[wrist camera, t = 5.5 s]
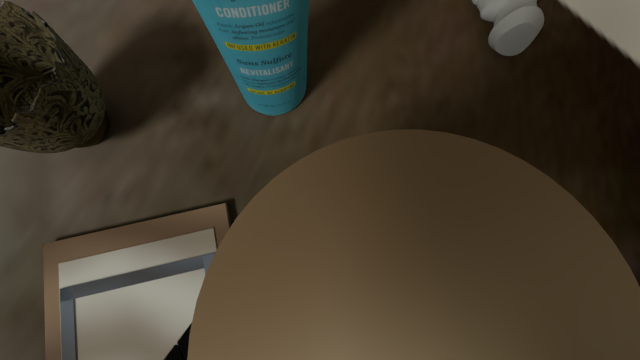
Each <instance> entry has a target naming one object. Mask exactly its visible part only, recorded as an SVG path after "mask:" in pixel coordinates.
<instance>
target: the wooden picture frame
mask: <svg viewBox="0 0 640 360" xmlns="http://www.w3.org/2000/svg"><path fill="white" fill-rule="evenodd" d="M230 227H231V221H230V215H229V209H228V204H226V203H223V204H219V205H214V206H210V207H205V208H201V209H196V210H192V211H188V212H183V213H179V214H174V215H170V216H165V217H161V218H157V219H152V220H148V221H143V222H139V223H134V224H130V225H126V226H121V227H117V228H112V229H108V230H103V231H99V232H95V233H90V234H86V235H81V236H77V237H72V238H68V239H64V240H59V241H55V242H50V243H46V244H43V255H44V303H45V350H46V360H164V358H165V357H166V356H167V354H168V353H169V352H170V350H171V349H172V348H173V346H174V345H176V344H177V341H178V340H179V339H180V337H181V336H182V335H183V333H184V332H185V331H186V329H187V328H188V327H189V325H190V324H191V323H192V320H193V315H194V311H195V306H196V301H197V298H198V295H199V292H200V289H201V287H202V284H203V281H204V278H205V275H206V272H207V270H208V267H209V265H210V263H211V261H212V259H213V257H214V255H215V253H216V251H217V249H218V247H219V244H220V243H221V241H222V240H223V238H224V236H225V235H226V233H227V232H228V230H229V229H230ZM177 345H178V344H177Z"/></svg>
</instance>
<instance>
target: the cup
mask: <svg viewBox="0 0 640 360" xmlns="http://www.w3.org/2000/svg"><path fill="white" fill-rule="evenodd" d="M109 126H110V119H109V116H108V113H107V111H106V103H105V96H104V93H103V90H102V88H101V86H100V84H99V82H98V80H97V79H96V77H95V76H94V75H93V73H92V72H91V71H90V69H89V68H88V67H87V66H86V65H85V64H84V62H83V61H82V60H81V59H80V58H79V57H78V56H77V55H76V54H75V53H74V51H73V50H72V49H71V48H70V47H69V46H68V45H67V44H66V43H65V42H64V41H63V40H62V39H61V38H60V37H59V36H58V35H57V33H56V32H55V31H54V30H53V29H52V28H51V27H50V26H49V25H48V24H47V22H46V21H44V20H43V19H42V18H41V17H40V16H39V15H37V14H36V13H35V12H32V15H31V14H30V13H29V12H28V11H26V10H25V9H23V8H21V7H19V6H17V5H15V4H13V3H11V2H9V1H3V2H2V4H1V6H0V146H2V147H7V148H11V149H16V150H21V151H27V152H35V153H57V152H63V151H67V150H70V149H73V148H83V147H89V146H92V145H95V144H97V143H98V142H100V141H101V140H102V139H103V138H104V137H105V136H106V134H107V132H108V130H109Z"/></svg>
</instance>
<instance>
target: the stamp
mask: <svg viewBox="0 0 640 360" xmlns="http://www.w3.org/2000/svg"><path fill="white" fill-rule="evenodd" d="M187 360H640V287H639V285H638V283H637V281H636V279H635V277H634V275H633V273H632V271H631V269H630V267H629V266H628V264H627V262H626V261H625V259H624V258H623V256H622V255H621V253H620V251H619V250H618V248H617V247H616V245H615V244H614V242H613V241H612V240H611V238H610V237H609V236H608V235H607V233H606V232H605V231H604V230H603V228H602V227H601V226H600V225H599V223H598V222H597V221H596V220H595V218H594V217H593V216H592V215H591V214H590V213H589V212H588V211H587V210H586V209H585V208H584V207H583V206H582V205H581V204H580V203H579V202H578V201H577V200H576V199H575V198H574V197H573V196H572V195H571V194H570V193H569V192H567V191H566V190H565V189H564V188H562V187H561V186H560V185H559V184H557V183H556V182H555V181H554V180H553V179H551V178H550V177H549V176H547V175H546V174H544V173H543V172H541V171H540V170H538V169H536V168H535V167H533V166H532V165H530V164H529V163H527V162H526V161H524V160H522V159H520V158H518V157H516V156H514V155H512V154H510V153H508V152H506V151H504V150H502V149H500V148H497V147H495V146H492V145H489V144H486V143H484V142H481V141H478V140H476V139H472V138H468V137H464V136H460V135H456V134H452V133H447V132H439V131H430V130H422V129H398V130H387V131H379V132H371V133H366V134H362V135H358V136H355V137H351V138H347V139H343V140H341V141H338V142H336V143H333V144H331V145H328V146H325V147H323V148H320V149H318V150H317V151H315V152H313V153H311V154H309V155H307V156H306V157H304V158H302V159H300V160H298V161H297V162H295V163H294V164H292V165H291V166H290V167H288V168H287V169H285V170H284V171H283V172H281V173H280V174H279V175H277V176H276V177H274V178H273V179H272V180H271V181H270V182H269V183H268V184H267V185H266V186H265V187H264V188H263V189H262V190H261V191H260V192H258V193H257V194H256V195H255V196H254V197H253V199H252V200H251V201H250V202H249V203H248V205H247V206H246V207H245V208H244V209H243V211H242V212H241V213H240V214H239V215H238V217H237V218H236V219H235V221H234V222H233V224H232V225H231V227H230V229H229V230H228V232H227V233H226V235H225V236H224V238H223V240H222V241H221V243H220V244H219V247H218V249H217V251H216V253H215V255H214V257H213V259H212V261H211V263H210V265H209V267H208V270H207V272H206V275H205V278H204V281H203V284H202V287H201V289H200V292H199V295H198V298H197V301H196V306H195V311H194V315H193V320H192V325H191V330H190V335H189V346H188V357H187Z"/></svg>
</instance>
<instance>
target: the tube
mask: <svg viewBox="0 0 640 360" xmlns="http://www.w3.org/2000/svg"><path fill="white" fill-rule="evenodd" d="M192 1H193V3H194V4H195V6H196V8H197V10H198V12H199V14H200V15H201V17H202V19H203V21H204V23H205V25H206V27H207V28H208V30H209V32H210V34H211V36H212V38H213V39H214V41H215V43H216V45H217V47H218V49H219V51H220V53H221V55H222V56H223V58H224V60H225V62H226V64H227V66H228V68H229V70H230V72H231V74H232V75H233V77H234V79H235V81H236V83H237V85H238V87H239V89H240V91H241V93H242V95H243V97H244V99H245V100H246V102H247V103H248V105H249V106H250V107H251V108H253V109H254V110H256V111H257V112H260V113H262V114H266V115H280V114H284V113H287V112H289V111H291V110H293V109H294V108H295V107H297V106H298V105H299V103H300V102H301V101H302V99H303V97H304V95H305V91H306V85H307V40H308V10H309V0H192Z"/></svg>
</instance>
